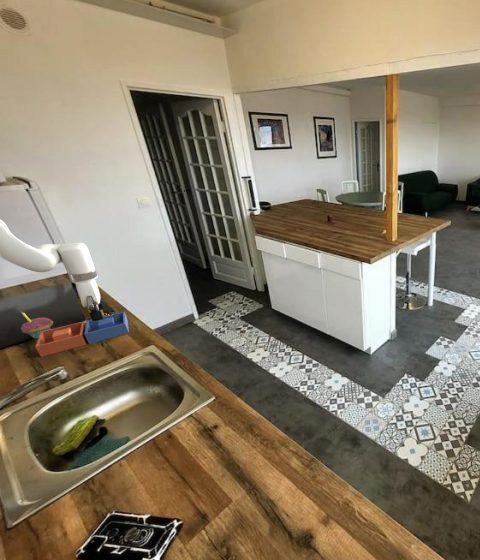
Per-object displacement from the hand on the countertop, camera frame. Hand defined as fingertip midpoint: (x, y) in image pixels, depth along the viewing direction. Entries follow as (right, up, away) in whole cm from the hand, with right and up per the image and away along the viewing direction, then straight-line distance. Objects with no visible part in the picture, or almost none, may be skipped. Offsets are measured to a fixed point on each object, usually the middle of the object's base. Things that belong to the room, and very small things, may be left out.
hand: (98, 314), depth 123 cm
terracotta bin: (-9, -11, -4) cm, 14 cm away
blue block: (+1, -7, +4) cm, 8 cm away
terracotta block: (-9, -10, -4) cm, 14 cm away
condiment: (-12, -3, +13) cm, 18 cm away
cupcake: (-23, -8, +1) cm, 25 cm away
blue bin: (+1, -7, +4) cm, 8 cm away
